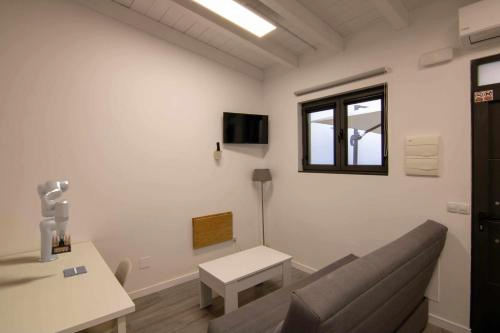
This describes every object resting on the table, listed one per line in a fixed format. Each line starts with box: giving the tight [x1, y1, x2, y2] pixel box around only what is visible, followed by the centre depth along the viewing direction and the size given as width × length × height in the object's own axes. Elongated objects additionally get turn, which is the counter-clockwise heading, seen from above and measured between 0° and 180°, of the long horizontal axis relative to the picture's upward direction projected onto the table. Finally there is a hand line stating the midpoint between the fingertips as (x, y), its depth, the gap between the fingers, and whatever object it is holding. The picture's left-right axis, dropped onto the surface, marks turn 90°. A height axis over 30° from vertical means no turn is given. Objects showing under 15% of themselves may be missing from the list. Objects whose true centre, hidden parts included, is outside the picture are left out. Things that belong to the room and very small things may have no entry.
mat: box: [63, 265, 88, 278], centre depth 174 cm, size 14×12×1 cm
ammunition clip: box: [51, 233, 72, 255], centre depth 170 cm, size 11×2×12 cm, turn 128°
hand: (61, 246), depth 170 cm, fingers closed on ammunition clip, 1 cm apart
